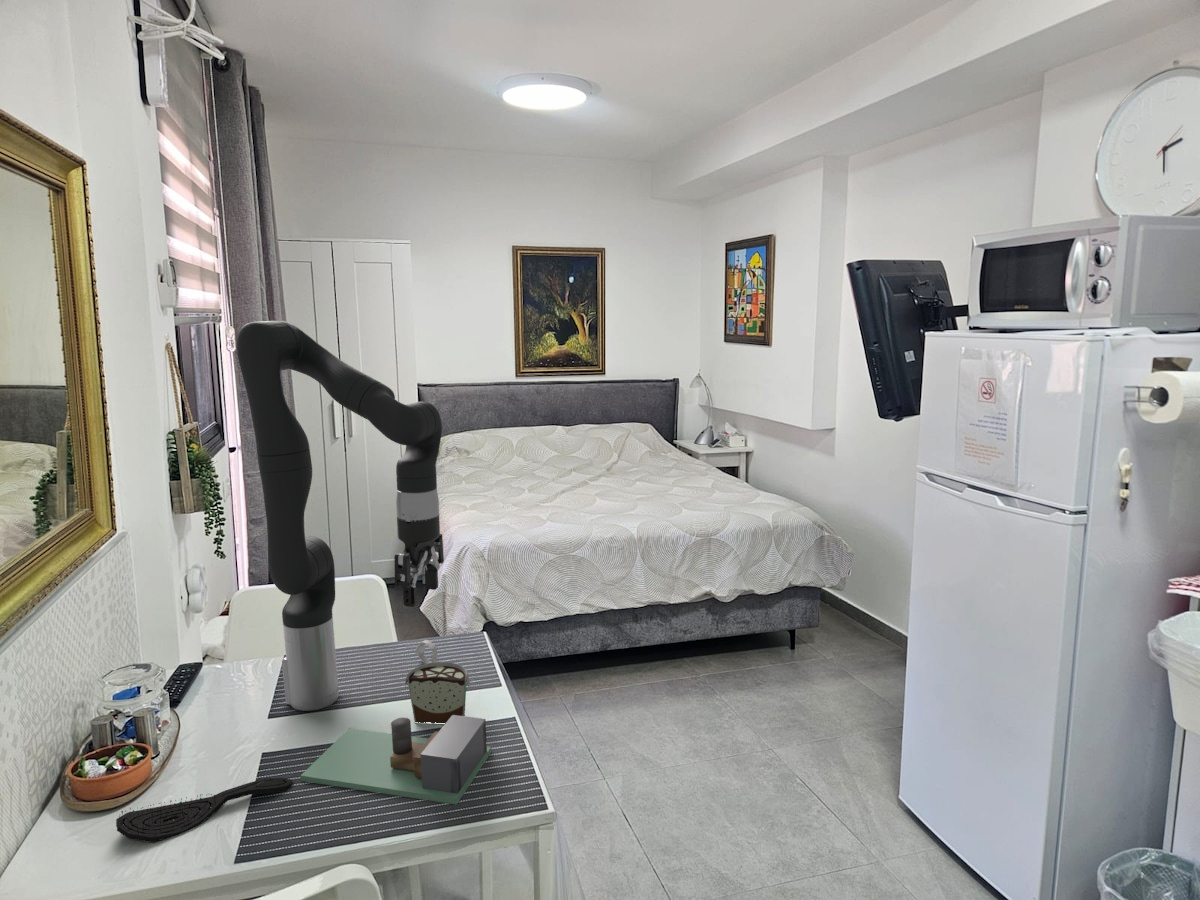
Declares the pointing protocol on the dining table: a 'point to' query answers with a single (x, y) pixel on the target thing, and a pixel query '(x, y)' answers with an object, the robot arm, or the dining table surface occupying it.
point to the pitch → (375, 768)
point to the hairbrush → (188, 812)
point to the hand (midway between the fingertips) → (421, 597)
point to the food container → (437, 691)
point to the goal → (453, 754)
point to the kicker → (406, 747)
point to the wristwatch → (421, 649)
